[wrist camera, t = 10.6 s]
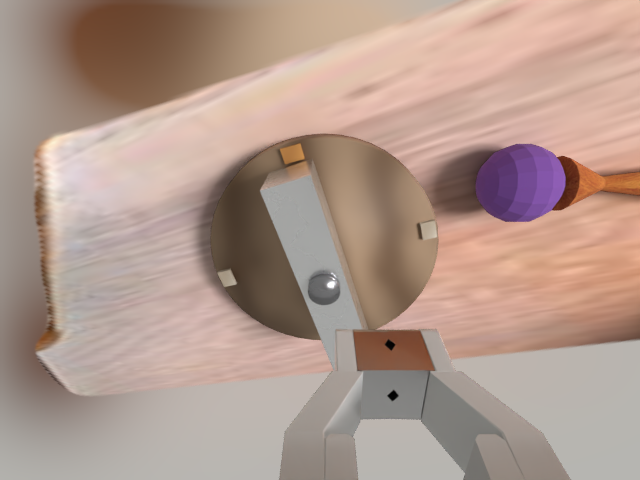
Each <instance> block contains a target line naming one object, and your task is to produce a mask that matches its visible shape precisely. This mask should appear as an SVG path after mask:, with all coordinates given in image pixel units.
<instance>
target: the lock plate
mask: <svg viewBox="0 0 640 480" xmlns="http://www.w3.org/2000/svg"><path fill="white" fill-rule="evenodd" d="M310 159H313V162H314V165H315V168H316V171H317V174H318V177H319V180H320V183H321V186H322V189H323V192H324V195H325V198H326V201H327V204H328V207H329V211H330V214H331V217H332V220H333V223H334V226H335V229H336V232H337V235H338V238H339V241H340V244H341V247H342V250H343V253H344V256H345V259H346V262H347V266H348V269H349V272H350V275H351V278H352V281H353V284H354V287H355V290H356V293H357V296H358V299H359V302H360V305H361V308H362V311H363V314H364V317H365V321H366V324H367V327H368V330H375V329H377V328H379V327H381V326H383V325H385V324H387V323H389V322H390V321H392V320H393V319H395V318H396V317H398V316H399V315H400V314H401V313H403V312H404V311H405V310H406V309H407V308H408V307H409V306H410V305H411V304H412V303H413V302H414V301H415V300H416V299H417V297H418V296H419V295H420V293H421V292H422V291H423V289H424V287H425V285H426V284H427V282H428V280H429V278H430V276H431V273H432V271H433V268H434V265H435V261H436V257H437V251H438V227H437V222H436V217H435V213H434V210H433V208H432V205H431V203H430V200H429V198H428V197H427V195H426V193H425V191H424V190H423V188H422V186H421V185H420V184H419V183H418V181H417V180H416V179H415V178H414V176H413V175H412V174H411V173H410V171H409V170H408V169H407V168H406V167H405V166H404V165H403V164H402V163H401V162H400V161H398V160H397V159H396V158H395V157H393V156H392V155H391V154H389V153H388V152H386V151H385V150H383V149H381V148H379V147H377V146H375V145H373V144H371V143H369V142H366V141H363V140H360V139H357V138H354V137H349V136H344V135H336V134H313V135H305V136H300V137H295V138H291V139H288V140H286V141H283V142H280V143H277V144H275V145H273V146H272V147H270V148H268V149H266V150H264V151H262V152H261V153H260V154H258V155H257V156H255V157H254V158H253V159H251V160H250V161H249V162H248V163H247V164H246V165H245V166H244V167H243V168H242V169H241V170H240V171H239V172H238V174H237V175H236V176H235V177H234V179H233V180H232V181H231V182H230V184H229V185H228V186H227V188H226V189H225V191H224V193H223V195H222V196H221V198H220V200H219V202H218V205H217V208H216V210H215V213H214V217H213V221H212V226H211V252H212V257H213V262H214V266H215V269H216V271H217V274H218V276H219V279H220V280H221V282H222V284H223V286H224V288H225V289H226V291H227V292H228V293H229V295H230V296H231V297H232V299H233V300H234V301H235V302H236V303H237V304H238V305H239V306H240V307H241V308H242V309H243V310H244V311H245V312H246V313H248V314H249V315H250V316H251V317H252V318H254V319H256V320H257V321H259V322H260V323H262V324H263V325H265V326H267V327H269V328H271V329H274V330H276V331H279V332H281V333H284V334H287V335H291V336H295V337H298V338H305V339H311V340H321V338H320V335H319V333H318V331H317V328H316V326H315V323H314V321H313V318H312V316H311V314H310V311H309V309H308V306H307V304H306V302H305V299H304V297H303V294H302V292H301V289H300V287H299V285H298V282H297V280H296V277H295V275H294V272H293V270H292V268H291V265H290V263H289V260H288V258H287V255H286V253H285V251H284V248H283V246H282V243H281V241H280V238H279V236H278V234H277V231H276V229H275V226H274V224H273V221H272V219H271V217H270V214H269V212H268V209H267V207H266V204H265V202H264V200H263V197H262V195H261V192H260V189H261V188H262V186H263V184H264V182H265V180H266V178H267V176H268V174H269V172H272V171H276V170H279V169H282V168H285V167H288V166H291V165H295V164H298V163H301V162H304V161H307V160H310Z"/></svg>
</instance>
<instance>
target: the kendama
mask: <svg viewBox="0 0 640 480" xmlns="http://www.w3.org/2000/svg"><path fill="white" fill-rule="evenodd" d="M598 191H607V192H616V193H624V194H633V195H640V172H636V173H628V174H619V175H611V176H600V175H598V174H597V173H595V172H593V171H591V170H590V169H588V168H586V167H585V166H583V165H581V164H579V163H578V162H576V161H574V160H573V159H571V158H568V157H565V156H560V157H556V156H555V155H554V154H553V153H552V152H550V151H548V150H546V149H544V148H542V147H539V146H536V145H533V144H515V145H512V146H509V147H506V148H504V149H502V150H499V151H497V152H495V153H493V155H492V156H491V157H490V158H489V159H488V160H487V161H486V162H485V163H484V164H483V165H482V166H481V168H480V170H479V172H478V174H477V178H476V195H477V198H478V200H479V202H480V204H481V205H482V206H483V207H484V209H485V210H486V211H487V212H488V213H489V214H491V215H492V216H494V217H496V218H498V219H501V220H503V221H505V222H529V221H532V220H534V219H536V218H538V217H540V216H542V215H544V214H546V213H548V212H549V211H551V210H562V209H564V208H566V207H568V206H570V205H572V204H574V203H576V202H578V201H580V200H582V199H584V198H586V197H588V196H590V195H592V194H594V193H596V192H598Z"/></svg>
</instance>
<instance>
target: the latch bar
mask: <svg viewBox="0 0 640 480" xmlns="http://www.w3.org/2000/svg"><path fill="white" fill-rule="evenodd" d="M260 192H261V195H262V197H263V200H264V202H265V204H266V207H267V209H268V212H269V214H270V217H271V219H272V221H273V224H274V226H275V229H276V231H277V234H278V236H279V238H280V241H281V243H282V246H283V248H284V251H285V253H286V255H287V258H288V260H289V263H290V265H291V268H292V270H293V272H294V275H295V277H296V280H297V282H298V285H299V287H300V289H301V292H302V294H303V297H304V299H305V302H306V304H307V306H308V309H309V311H310V314H311V316H312V318H313V321H314V323H315V326H316V328H317V331H318V333H319V335H320V338H321V340H322V343H323V345H324V348H325V350H326V352H327V355H328V357H329V360H330V362H331V365H332V367H333V369H334V371H335V330H336V329H352V330H353V329H366V330H368V327H367V324H366V321H365V317H364V314H363V311H362V308H361V305H360V302H359V299H358V296H357V293H356V290H355V287H354V284H353V281H352V278H351V275H350V272H349V269H348V266H347V262H346V259H345V256H344V253H343V250H342V247H341V244H340V241H339V238H338V235H337V232H336V229H335V226H334V223H333V220H332V217H331V214H330V211H329V207H328V204H327V201H326V198H325V195H324V192H323V189H322V186H321V183H320V180H319V177H318V174H317V171H316V168H315V165H314V162H313V159H310V160H307V161H304V162H301V163H298V164H295V165H291V166H288V167H285V168H282V169H279V170H276V171H272V172H269V174H268V176H267V178H266V180H265V182H264V184H263V186H262V188H261V189H260Z"/></svg>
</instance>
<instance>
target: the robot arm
mask: <svg viewBox="0 0 640 480" xmlns="http://www.w3.org/2000/svg"><path fill="white" fill-rule="evenodd" d="M360 419H419V420H421V422H422V423H423V424H424V425H425V426H426V427H427V429H428V430H429V431H430V432H431V433H432V435H433V436H434V437H435V438H436V439H437V440H438V442H439V443H440V444H441V445H442V446H443V447H444V449H445V450H446V451H447V452H448V453H449V455H450V456H451V457H452V458H453V459H454V461H455V462H456V463H457V464H458V465H459V466H460V467H461V469H462V470H463V471H464V472H465V476H464V479H463V480H571V479H570V478H569V476H568V474H567V473H566V471H565V469H564V468H563V466H562V464H561V463H560V461H559V459H558V458H557V456H556V454H555V453H554V451H553V449H552V448H551V446H550V444H549V443H548V441H547V439H546V438H545V436H544V434H543V433H542V432H540V431H539V430H538V429H537V428H535V427H534V426H532V425H531V424H530V423H529V422H527V421H526V420H525V419H523V418H522V417H521V416H519V415H518V414H517V413H515V412H514V411H513V410H511V409H510V408H509V407H507V406H506V405H505V404H503V403H502V402H501V401H499V400H498V399H497V398H496V397H494V396H493V395H492V394H490V393H489V392H488V391H486V390H485V389H484V388H482V387H481V386H480V385H479V384H477V383H476V382H475V381H473V380H472V379H471V378H469V377H468V376H467V375H465V374H464V373H463V372H460V371H456V370H455V368H454V366H453V363H452V361H451V359H450V357H449V354H448V352H447V350H446V348H445V345H444V343H443V341H442V339H441V336H440V334H439V332H438V331H437V330H436V329H419V330H366V329H353V330H352V329H336V330H335V371H332V372H331V373H330V374H329V376H328V377H327V378H326V379H325V381H324V382H323V383H322V385H321V386H320V387H319V388H318V390H317V391H316V392H315V393H314V395H313V396H312V397H311V399H310V400H309V401H308V403H307V404H306V405H305V406H304V408H303V409H302V410H301V412H300V413H299V414H298V416H297V417H296V418H295V419H294V421H293V422H292V423H291V424H290V426H289V427H288V428H287V430H286V431H285V435H284V443H283V452H282V461H281V469H280V478H279V480H358V472H357V462H356V450H355V439H354V438H353V434H354V433H355V431H356V429H357V427H358V425H359V423H360Z"/></svg>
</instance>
